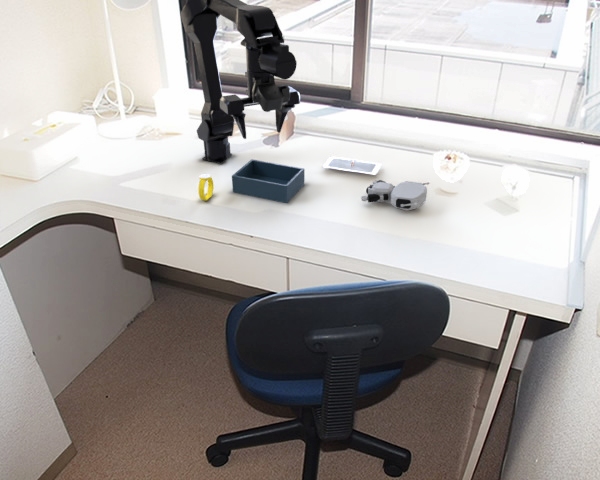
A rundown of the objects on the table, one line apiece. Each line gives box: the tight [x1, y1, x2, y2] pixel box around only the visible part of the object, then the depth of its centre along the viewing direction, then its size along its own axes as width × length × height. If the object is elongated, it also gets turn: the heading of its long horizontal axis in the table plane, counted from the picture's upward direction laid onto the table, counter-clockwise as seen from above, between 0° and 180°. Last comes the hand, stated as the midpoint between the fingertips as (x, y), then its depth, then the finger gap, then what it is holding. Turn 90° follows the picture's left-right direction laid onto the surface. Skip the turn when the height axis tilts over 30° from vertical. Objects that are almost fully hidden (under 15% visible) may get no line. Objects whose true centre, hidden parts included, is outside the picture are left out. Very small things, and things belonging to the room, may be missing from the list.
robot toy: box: [360, 179, 431, 212], centre depth 136 cm, size 12×4×15 cm
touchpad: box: [322, 156, 383, 176], centre depth 153 cm, size 8×15×2 cm, turn 70°
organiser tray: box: [231, 159, 305, 204], centre depth 142 cm, size 15×11×5 cm
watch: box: [197, 173, 215, 202], centre depth 137 cm, size 6×3×6 cm, turn 164°
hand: (261, 135), depth 137 cm, fingers open, 9 cm apart
